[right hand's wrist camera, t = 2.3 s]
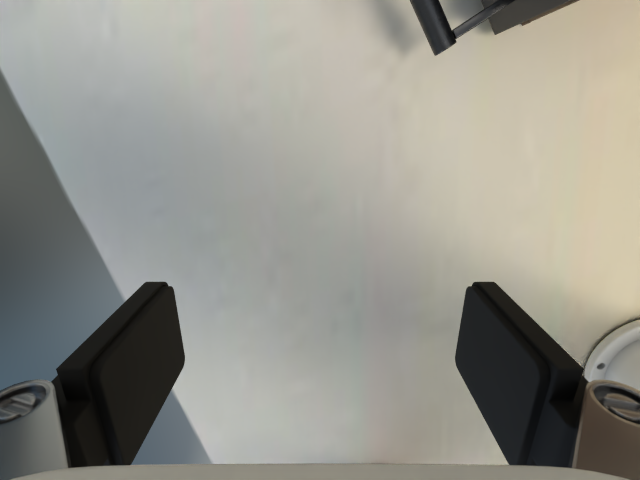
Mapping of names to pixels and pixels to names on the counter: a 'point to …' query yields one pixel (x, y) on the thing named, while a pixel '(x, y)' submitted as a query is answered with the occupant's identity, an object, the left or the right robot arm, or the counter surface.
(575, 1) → the cabinet
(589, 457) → the right robot arm
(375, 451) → the counter surface
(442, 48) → the drawer
